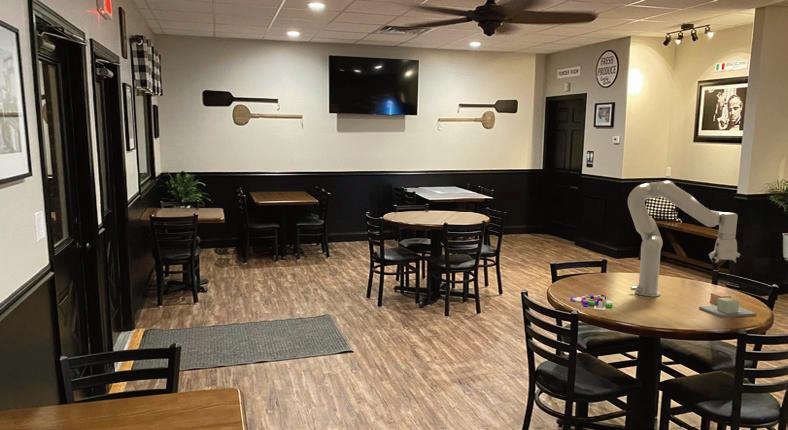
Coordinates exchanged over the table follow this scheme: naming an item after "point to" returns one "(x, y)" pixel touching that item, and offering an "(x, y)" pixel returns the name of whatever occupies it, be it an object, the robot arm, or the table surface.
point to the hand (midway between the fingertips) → (723, 269)
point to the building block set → (593, 301)
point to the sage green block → (727, 304)
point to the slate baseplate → (722, 314)
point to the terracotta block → (718, 295)
